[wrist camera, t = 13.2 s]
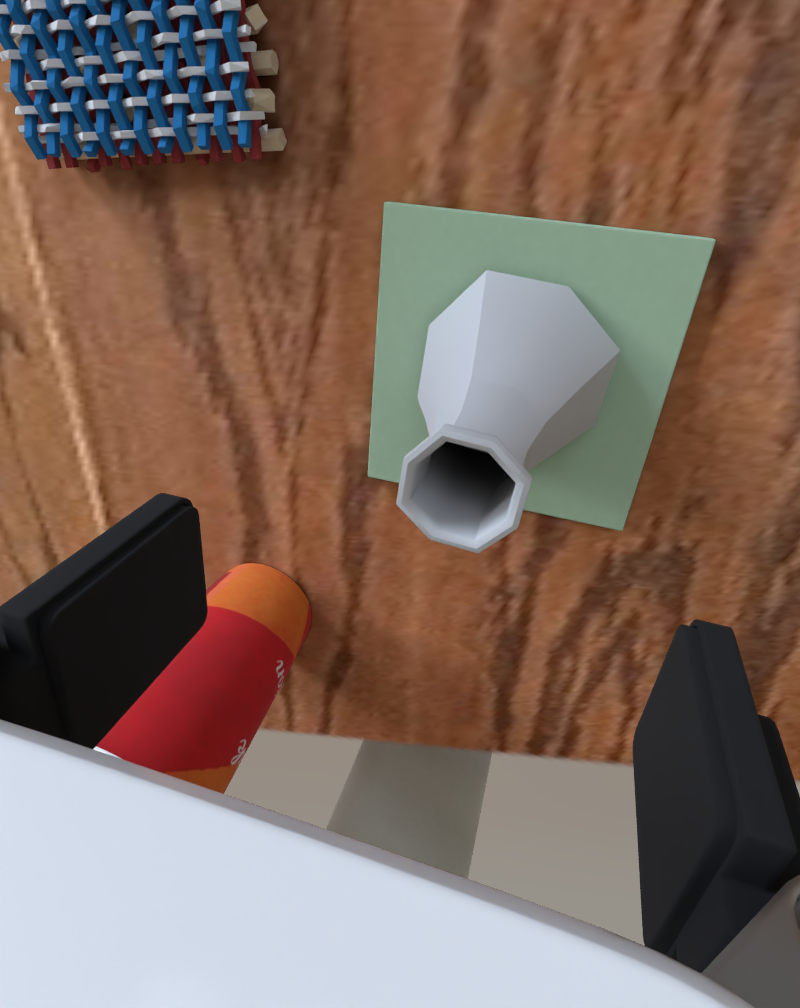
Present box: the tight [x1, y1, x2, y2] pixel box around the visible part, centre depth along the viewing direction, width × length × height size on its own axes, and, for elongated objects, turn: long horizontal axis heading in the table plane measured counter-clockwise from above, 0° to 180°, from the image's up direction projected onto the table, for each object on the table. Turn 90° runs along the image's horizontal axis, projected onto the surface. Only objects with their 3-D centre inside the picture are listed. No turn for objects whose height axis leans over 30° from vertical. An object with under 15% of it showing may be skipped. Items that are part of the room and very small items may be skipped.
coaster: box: [368, 201, 716, 531], centre depth 23 cm, size 11×11×1 cm
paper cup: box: [93, 563, 312, 794], centre depth 27 cm, size 8×8×14 cm
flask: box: [396, 270, 620, 553], centre depth 19 cm, size 7×7×10 cm
